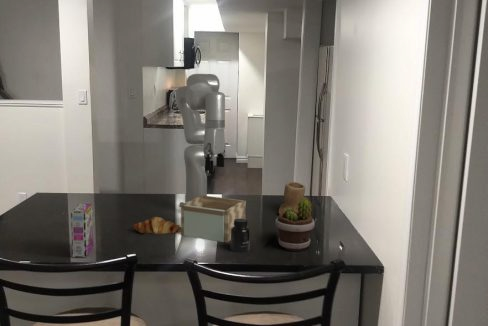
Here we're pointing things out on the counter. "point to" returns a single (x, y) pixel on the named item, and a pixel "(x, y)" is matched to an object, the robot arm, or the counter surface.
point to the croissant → (157, 226)
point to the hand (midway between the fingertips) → (214, 168)
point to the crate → (231, 207)
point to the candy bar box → (82, 230)
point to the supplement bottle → (240, 236)
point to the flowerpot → (295, 226)
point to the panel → (204, 223)
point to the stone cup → (292, 196)
